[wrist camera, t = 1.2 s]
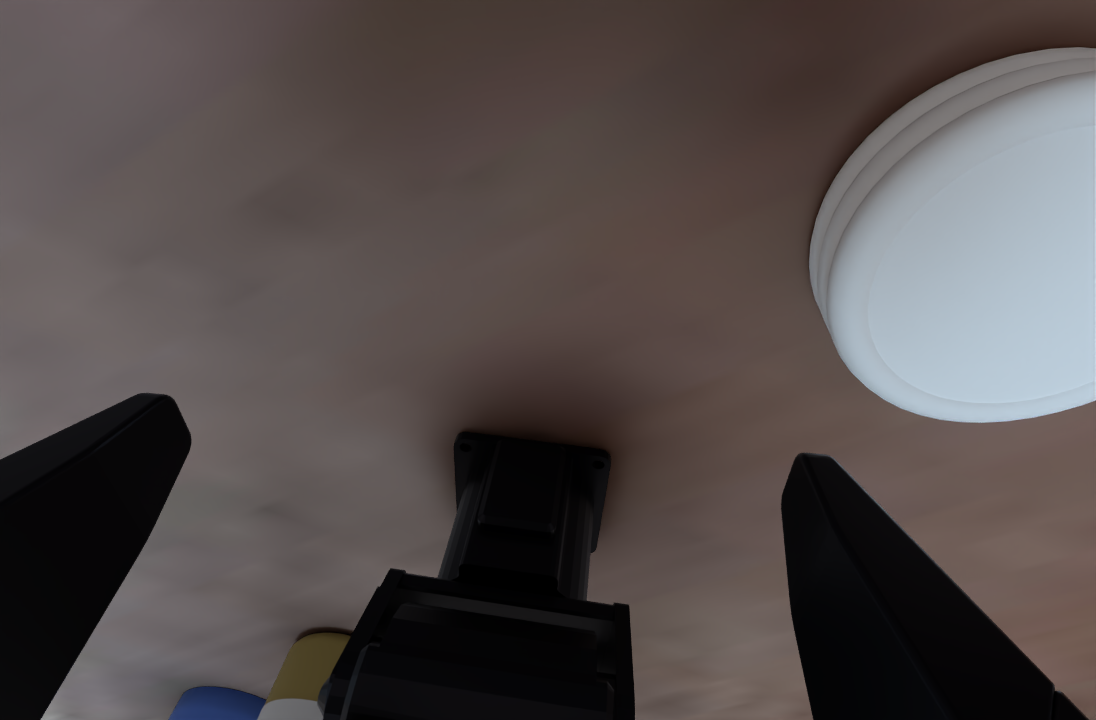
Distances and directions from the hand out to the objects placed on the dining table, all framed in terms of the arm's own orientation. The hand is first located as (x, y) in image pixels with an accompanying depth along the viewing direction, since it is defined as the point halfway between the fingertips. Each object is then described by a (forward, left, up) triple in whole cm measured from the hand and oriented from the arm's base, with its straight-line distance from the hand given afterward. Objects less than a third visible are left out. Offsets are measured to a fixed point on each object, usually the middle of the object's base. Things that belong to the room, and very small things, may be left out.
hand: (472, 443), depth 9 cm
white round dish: (-1, -13, -13) cm, 18 cm away
